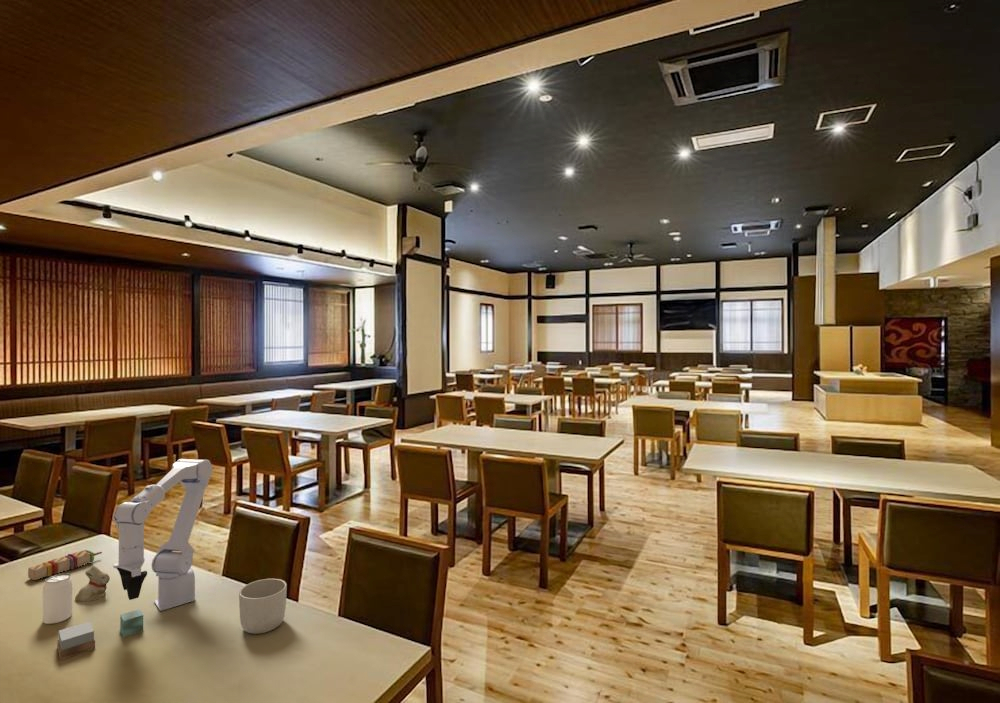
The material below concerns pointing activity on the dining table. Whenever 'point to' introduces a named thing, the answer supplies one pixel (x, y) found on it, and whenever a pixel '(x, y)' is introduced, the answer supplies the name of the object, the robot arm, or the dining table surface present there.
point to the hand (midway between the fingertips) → (131, 593)
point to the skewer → (61, 564)
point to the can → (57, 598)
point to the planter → (262, 605)
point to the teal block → (131, 622)
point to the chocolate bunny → (93, 585)
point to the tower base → (75, 649)
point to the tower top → (76, 635)
